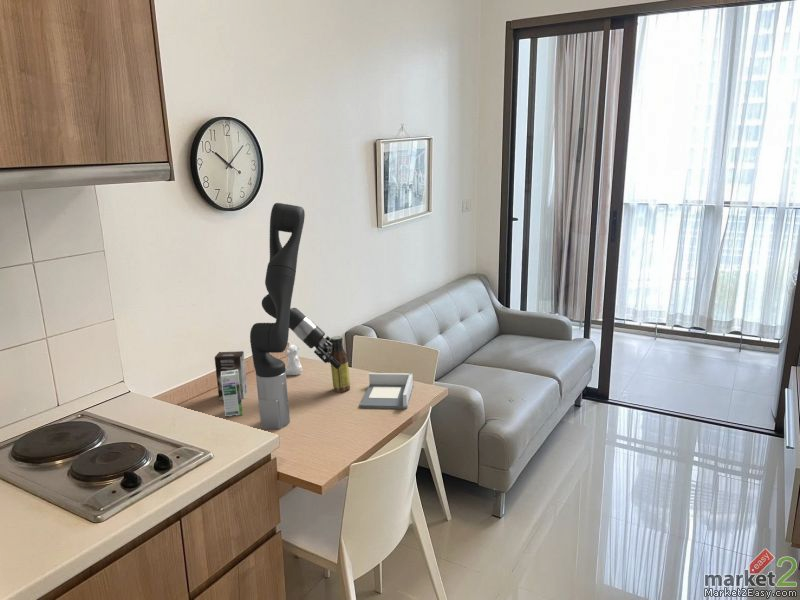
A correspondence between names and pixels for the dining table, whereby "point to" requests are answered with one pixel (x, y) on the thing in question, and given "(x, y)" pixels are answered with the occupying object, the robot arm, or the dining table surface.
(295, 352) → the sitting furry creature
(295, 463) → the dining table surface
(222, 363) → the coffee box
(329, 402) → the dining table surface
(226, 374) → the syrup box
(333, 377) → the sauce bottle
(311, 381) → the dining table surface
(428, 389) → the dining table surface
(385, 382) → the grey tray
